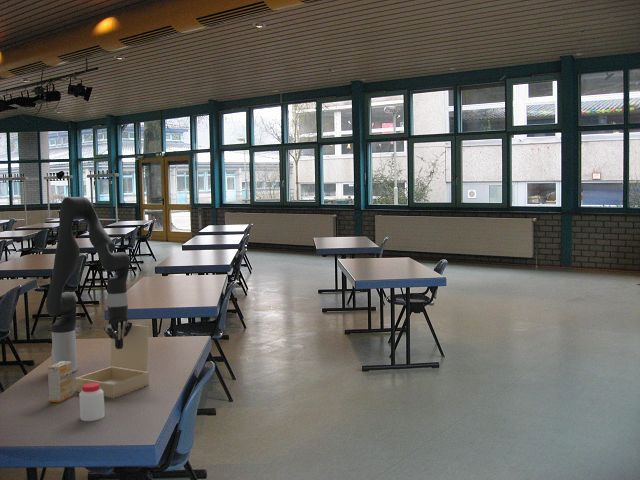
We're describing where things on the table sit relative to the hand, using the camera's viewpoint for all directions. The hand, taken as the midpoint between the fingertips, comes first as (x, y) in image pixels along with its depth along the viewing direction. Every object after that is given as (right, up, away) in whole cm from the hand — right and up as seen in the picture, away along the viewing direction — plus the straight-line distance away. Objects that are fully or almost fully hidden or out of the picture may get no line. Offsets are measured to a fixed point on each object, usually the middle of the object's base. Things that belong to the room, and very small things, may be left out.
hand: (119, 348), depth 259 cm
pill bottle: (+2, -17, -35) cm, 39 cm away
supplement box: (-17, -16, -15) cm, 27 cm away
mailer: (-2, -15, -3) cm, 15 cm away
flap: (+3, 0, +4) cm, 5 cm away
